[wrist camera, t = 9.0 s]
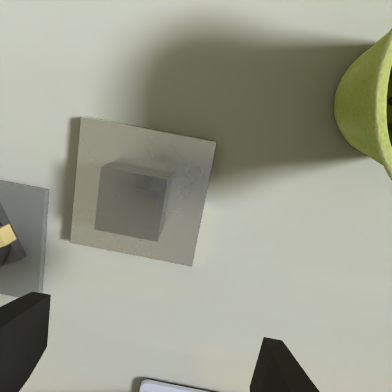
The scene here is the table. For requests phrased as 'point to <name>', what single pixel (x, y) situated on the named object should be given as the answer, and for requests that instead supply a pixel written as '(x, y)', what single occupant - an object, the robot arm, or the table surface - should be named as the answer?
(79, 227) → the grey square holder
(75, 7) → the table surface
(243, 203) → the table surface
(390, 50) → the plant pot
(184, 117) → the table surface
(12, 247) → the dark grey rounded piece
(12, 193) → the coaster
